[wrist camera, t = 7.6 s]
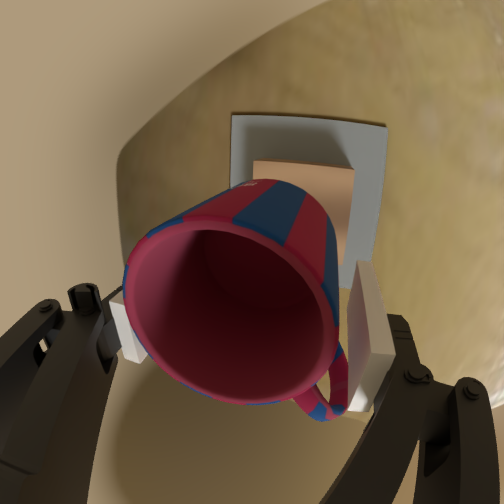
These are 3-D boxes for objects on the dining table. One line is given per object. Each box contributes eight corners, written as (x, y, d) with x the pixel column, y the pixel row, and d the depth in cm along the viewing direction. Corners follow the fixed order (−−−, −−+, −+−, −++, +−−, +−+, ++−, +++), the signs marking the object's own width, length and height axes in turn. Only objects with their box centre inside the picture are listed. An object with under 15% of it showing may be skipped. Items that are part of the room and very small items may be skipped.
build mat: (233, 115, 28) (232, 115, 27) (387, 128, 24) (388, 127, 24) (230, 270, 35) (229, 271, 34) (363, 288, 31) (364, 290, 31)
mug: (286, 150, 12) (243, 158, 6) (385, 320, 14) (403, 424, 8) (180, 224, 15) (91, 282, 9) (281, 362, 16) (254, 456, 10)
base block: (263, 157, 28) (253, 160, 25) (351, 166, 26) (354, 170, 23) (259, 239, 32) (250, 253, 28) (341, 250, 30) (342, 265, 26)
